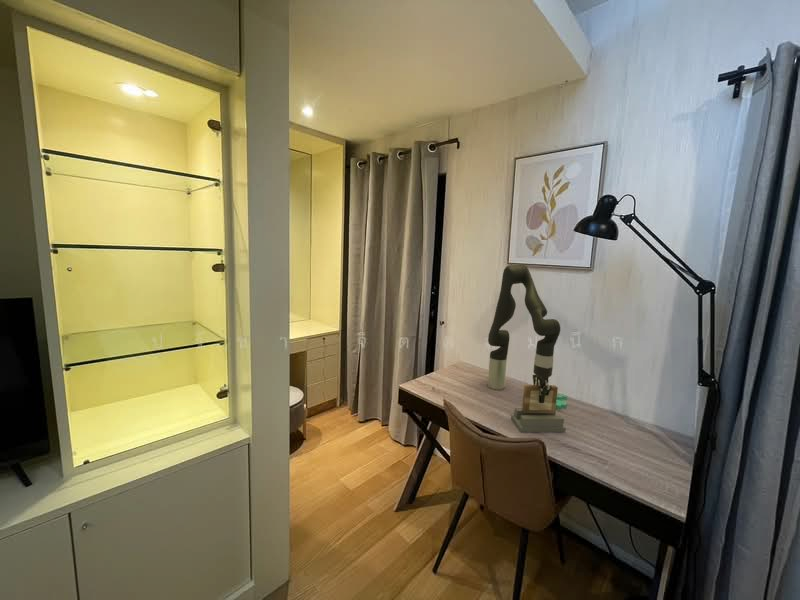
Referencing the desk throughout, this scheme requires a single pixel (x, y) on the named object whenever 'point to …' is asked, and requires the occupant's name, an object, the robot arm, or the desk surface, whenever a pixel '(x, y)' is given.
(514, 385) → the desk surface
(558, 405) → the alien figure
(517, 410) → the picture ledge
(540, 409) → the walnut frame
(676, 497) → the desk surface
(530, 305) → the robot arm
